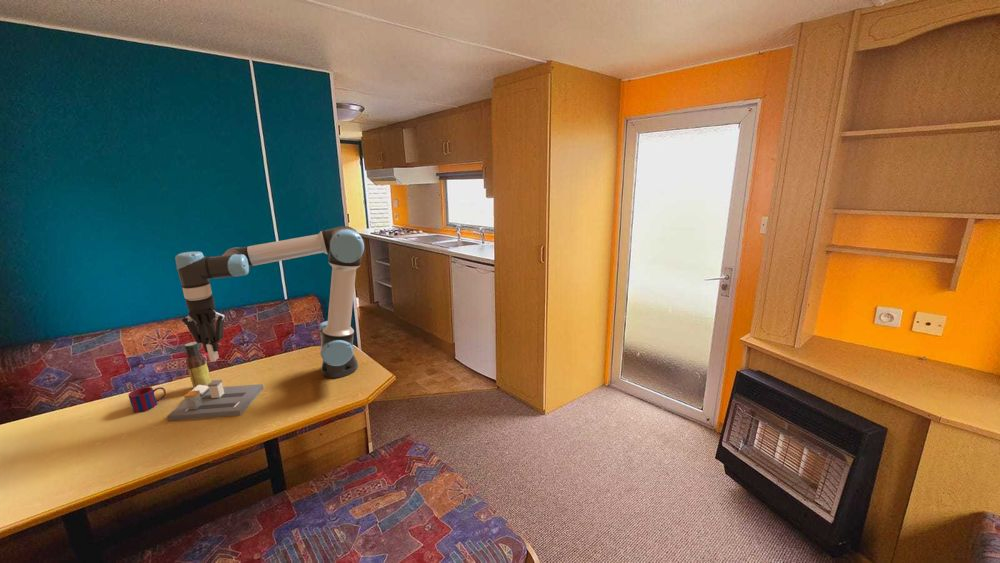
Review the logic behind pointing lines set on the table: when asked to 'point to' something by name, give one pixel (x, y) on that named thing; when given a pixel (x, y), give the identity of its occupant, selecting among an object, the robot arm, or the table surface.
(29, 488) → the table surface
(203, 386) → the block
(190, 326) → the robot arm
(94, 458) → the table surface
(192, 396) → the block
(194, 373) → the sauce bottle
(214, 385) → the slider cream
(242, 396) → the panel
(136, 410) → the mug
